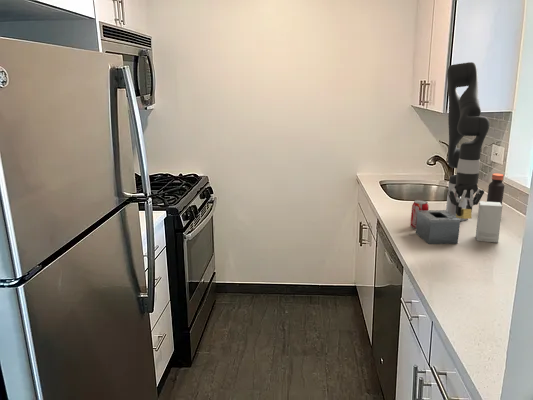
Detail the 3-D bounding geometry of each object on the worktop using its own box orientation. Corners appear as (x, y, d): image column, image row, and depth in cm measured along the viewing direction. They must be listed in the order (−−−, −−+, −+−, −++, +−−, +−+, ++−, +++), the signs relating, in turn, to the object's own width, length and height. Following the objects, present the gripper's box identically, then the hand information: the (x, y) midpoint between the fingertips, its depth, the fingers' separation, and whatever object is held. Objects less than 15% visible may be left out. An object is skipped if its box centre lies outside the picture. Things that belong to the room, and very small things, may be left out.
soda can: (427, 230, 202) (430, 204, 199) (411, 229, 203) (413, 203, 200) (425, 225, 208) (428, 200, 205) (409, 224, 210) (411, 199, 207)
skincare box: (496, 238, 192) (501, 202, 188) (498, 243, 186) (503, 206, 182) (474, 236, 195) (479, 200, 191) (475, 241, 189) (480, 204, 185)
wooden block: (463, 217, 178) (463, 208, 178) (471, 218, 172) (471, 209, 172) (456, 217, 178) (456, 208, 178) (463, 218, 172) (463, 209, 172)
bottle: (485, 215, 224) (490, 175, 219) (484, 212, 230) (489, 172, 225) (500, 217, 221) (506, 176, 216) (499, 213, 227) (505, 173, 222)
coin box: (442, 232, 199) (445, 210, 197) (457, 243, 186) (460, 219, 183) (415, 232, 199) (417, 210, 196) (428, 244, 185) (430, 220, 183)
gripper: (481, 168, 175) (476, 212, 179) (445, 169, 174) (440, 213, 179) (491, 172, 168) (486, 218, 172) (454, 173, 167) (449, 219, 171)
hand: (463, 215), depth 175 cm, fingers closed on wooden block, 3 cm apart
